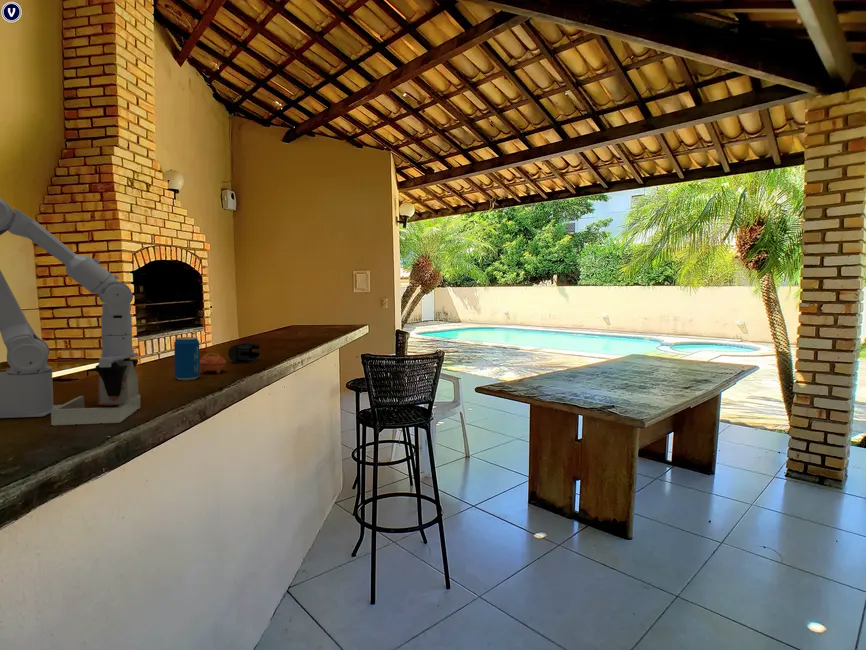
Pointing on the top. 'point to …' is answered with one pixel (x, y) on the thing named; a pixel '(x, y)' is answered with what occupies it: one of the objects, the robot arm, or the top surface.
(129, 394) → the tea bag
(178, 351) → the beverage can
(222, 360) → the pot
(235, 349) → the end cap
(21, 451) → the top surface
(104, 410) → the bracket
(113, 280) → the robot arm
